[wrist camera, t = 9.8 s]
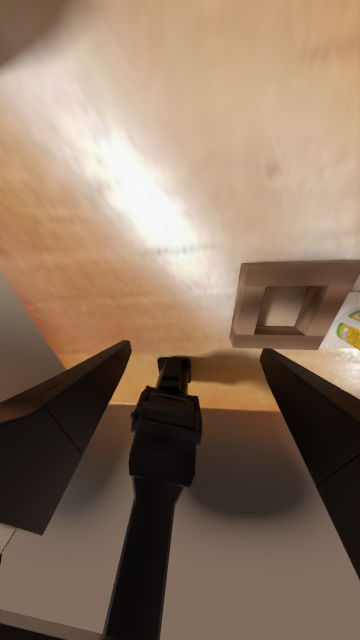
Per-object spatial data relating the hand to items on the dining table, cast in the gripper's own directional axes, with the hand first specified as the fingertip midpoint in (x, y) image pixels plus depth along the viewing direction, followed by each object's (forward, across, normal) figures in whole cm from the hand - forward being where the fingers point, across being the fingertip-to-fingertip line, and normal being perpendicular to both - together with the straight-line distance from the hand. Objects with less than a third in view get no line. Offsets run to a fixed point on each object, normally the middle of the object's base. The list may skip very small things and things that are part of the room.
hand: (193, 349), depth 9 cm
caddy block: (+12, -12, +1) cm, 18 cm away
